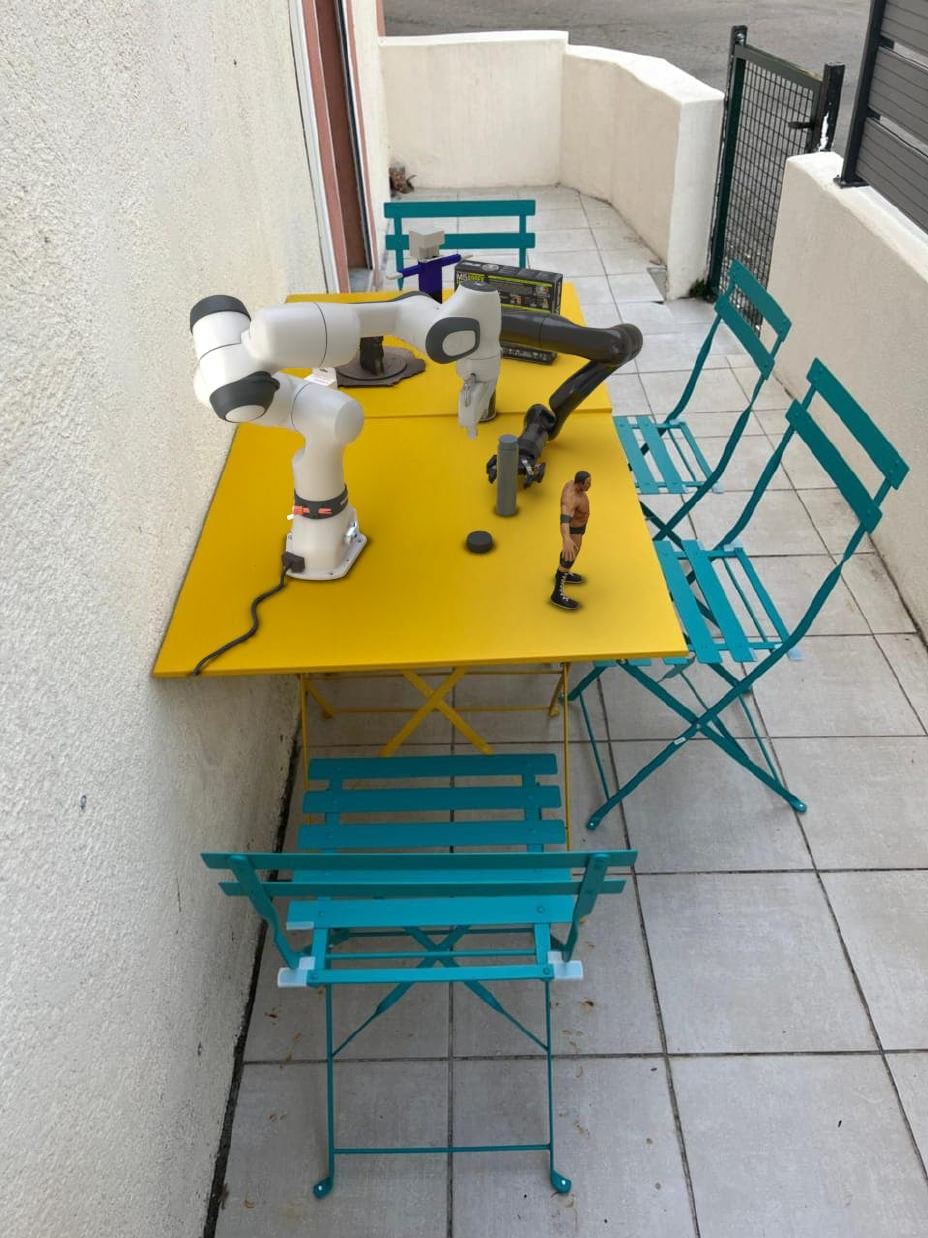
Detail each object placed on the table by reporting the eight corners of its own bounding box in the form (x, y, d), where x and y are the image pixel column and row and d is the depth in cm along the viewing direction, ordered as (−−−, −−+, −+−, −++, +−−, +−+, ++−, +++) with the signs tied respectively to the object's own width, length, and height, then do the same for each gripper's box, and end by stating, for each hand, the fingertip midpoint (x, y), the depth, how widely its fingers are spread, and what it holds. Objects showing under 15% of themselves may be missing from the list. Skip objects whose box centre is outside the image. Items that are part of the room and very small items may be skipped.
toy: (460, 304, 319) (459, 216, 299) (477, 312, 313) (477, 222, 294) (381, 329, 302) (375, 237, 283) (398, 337, 296) (393, 244, 277)
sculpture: (406, 397, 263) (403, 345, 252) (297, 384, 270) (290, 333, 259) (437, 352, 287) (436, 303, 277) (336, 341, 294) (331, 293, 284)
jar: (516, 505, 218) (519, 433, 205) (515, 516, 214) (518, 444, 202) (496, 504, 218) (498, 432, 206) (495, 515, 215) (496, 443, 202)
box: (558, 356, 284) (564, 271, 267) (551, 365, 279) (556, 279, 262) (462, 341, 294) (461, 258, 277) (453, 349, 289) (452, 265, 271)
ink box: (306, 417, 253) (300, 368, 244) (316, 410, 257) (310, 362, 247) (331, 424, 250) (326, 375, 241) (341, 416, 254) (336, 368, 244)
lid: (461, 545, 205) (461, 537, 204) (480, 535, 208) (480, 527, 207) (478, 556, 202) (478, 548, 201) (497, 545, 205) (497, 537, 204)
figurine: (575, 629, 182) (588, 506, 163) (545, 625, 183) (554, 502, 164) (587, 560, 200) (599, 442, 181) (559, 557, 201) (568, 439, 182)
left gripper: (481, 388, 168) (481, 453, 177) (504, 345, 183) (503, 407, 192) (449, 385, 169) (450, 449, 178) (474, 342, 184) (474, 403, 193)
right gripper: (499, 434, 225) (479, 465, 214) (554, 442, 222) (536, 474, 210) (499, 459, 230) (479, 491, 219) (552, 468, 227) (535, 501, 215)
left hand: (478, 427), depth 185 cm, fingers open, 8 cm apart
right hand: (507, 483), depth 214 cm, fingers open, 8 cm apart
